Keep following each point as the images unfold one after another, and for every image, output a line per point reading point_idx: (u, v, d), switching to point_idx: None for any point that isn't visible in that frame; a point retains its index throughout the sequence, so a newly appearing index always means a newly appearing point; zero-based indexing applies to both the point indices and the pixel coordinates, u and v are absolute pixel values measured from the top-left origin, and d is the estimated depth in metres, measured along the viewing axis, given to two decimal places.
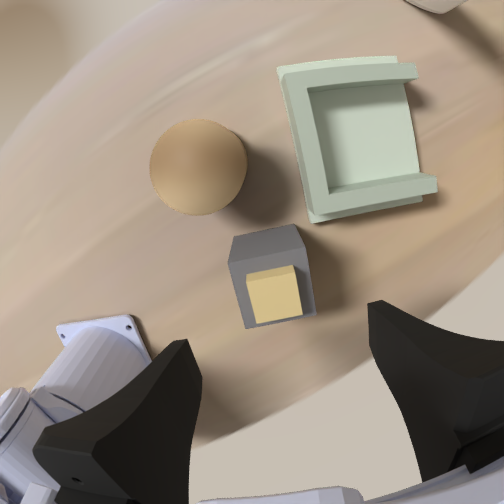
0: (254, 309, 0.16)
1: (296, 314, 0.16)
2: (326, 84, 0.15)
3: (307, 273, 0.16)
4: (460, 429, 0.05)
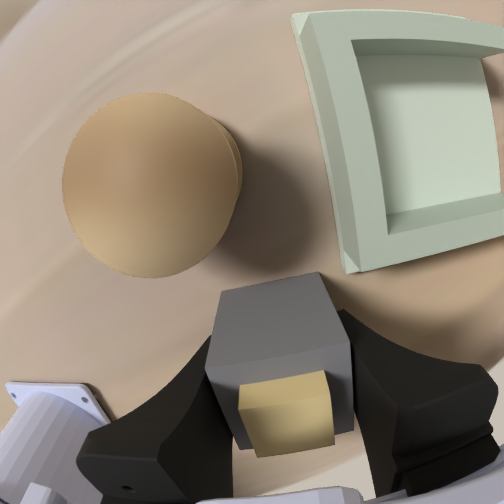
0: (253, 442, 0.08)
1: (324, 444, 0.08)
2: (384, 37, 0.07)
3: (347, 380, 0.08)
4: (398, 453, 0.05)
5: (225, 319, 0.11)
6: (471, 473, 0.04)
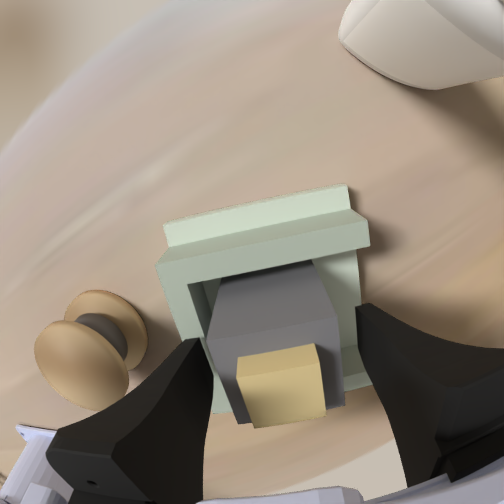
0: (250, 412, 0.09)
1: (316, 416, 0.09)
2: (215, 276, 0.12)
3: (337, 354, 0.10)
4: (441, 437, 0.05)
5: (225, 300, 0.12)
6: None
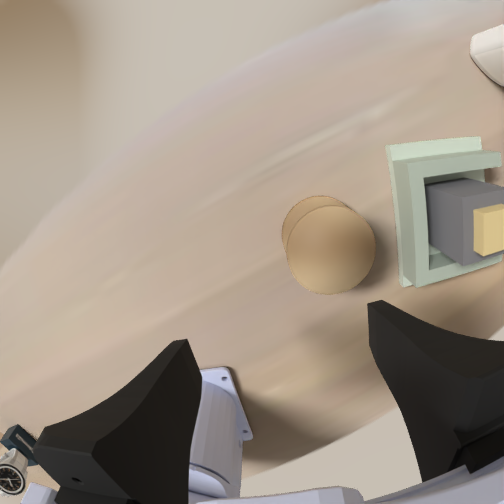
0: (484, 241, 0.14)
1: None
2: (437, 174, 0.16)
3: None
4: (460, 429, 0.05)
5: (443, 189, 0.16)
6: None
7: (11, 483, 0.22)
